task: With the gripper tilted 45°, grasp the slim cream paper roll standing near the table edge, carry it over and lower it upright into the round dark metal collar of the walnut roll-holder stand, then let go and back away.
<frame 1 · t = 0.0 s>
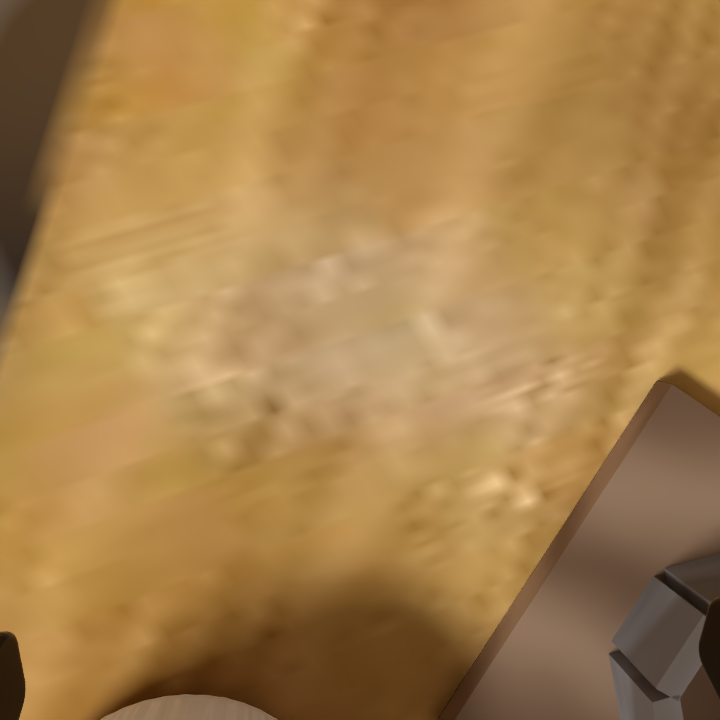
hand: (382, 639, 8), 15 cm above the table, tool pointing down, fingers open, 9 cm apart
roll holder stand: (700, 645, 26), on the table
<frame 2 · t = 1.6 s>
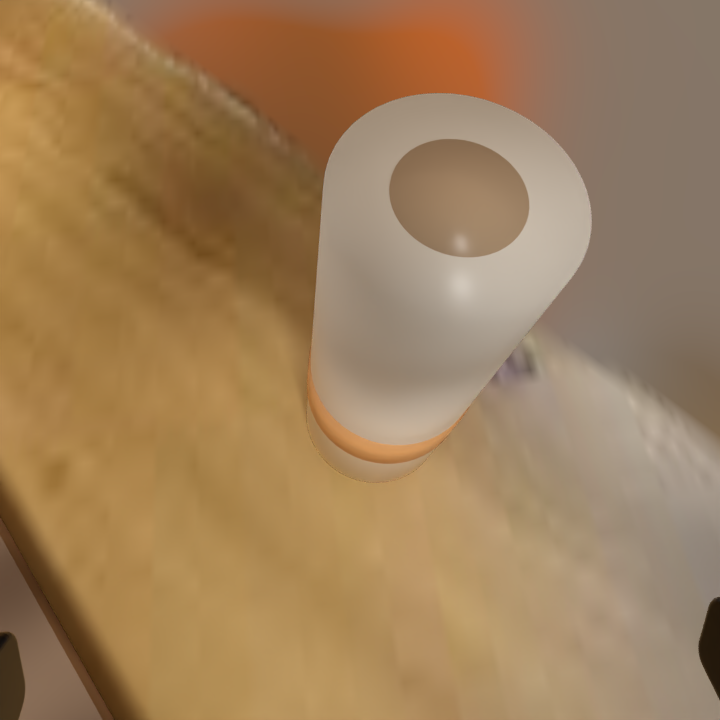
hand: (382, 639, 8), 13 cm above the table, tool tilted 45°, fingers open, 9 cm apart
paper roll: (374, 415, 24), on the table
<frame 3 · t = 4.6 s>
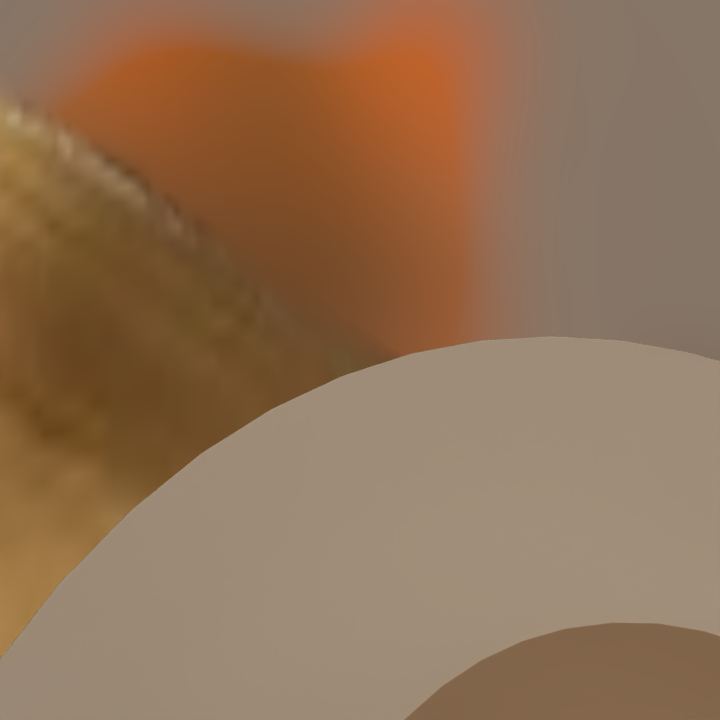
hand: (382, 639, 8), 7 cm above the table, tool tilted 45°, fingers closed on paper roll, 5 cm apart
paper roll: (346, 717, 14), on the table, touching gripper
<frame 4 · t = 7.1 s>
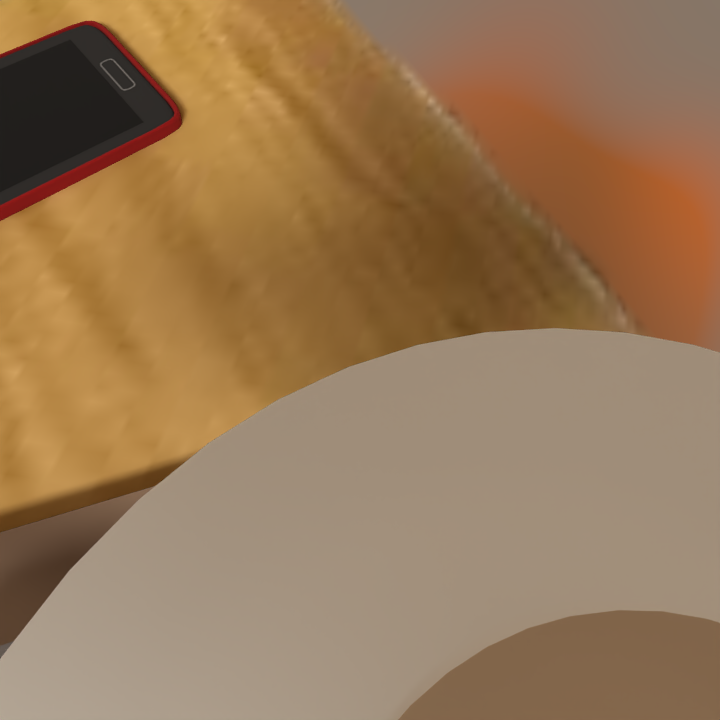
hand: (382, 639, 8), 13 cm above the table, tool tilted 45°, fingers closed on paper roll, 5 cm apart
paper roll: (347, 714, 14), point 7 cm above the table, touching gripper
when the fingers open (9 cm above the table, at t = 9.7 s): paper roll drops 1 cm, resting on roll holder stand.
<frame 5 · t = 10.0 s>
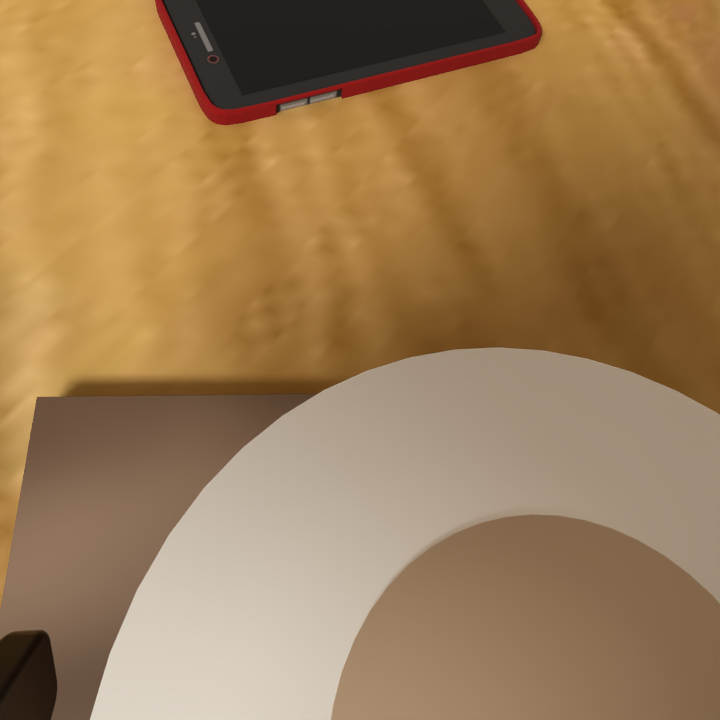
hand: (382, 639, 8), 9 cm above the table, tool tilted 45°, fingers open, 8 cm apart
paper roll: (341, 712, 15), point 1 cm above the table, touching roll holder stand
cell phone: (350, 33, 27), on the table
roll holder stand: (338, 708, 16), on the table
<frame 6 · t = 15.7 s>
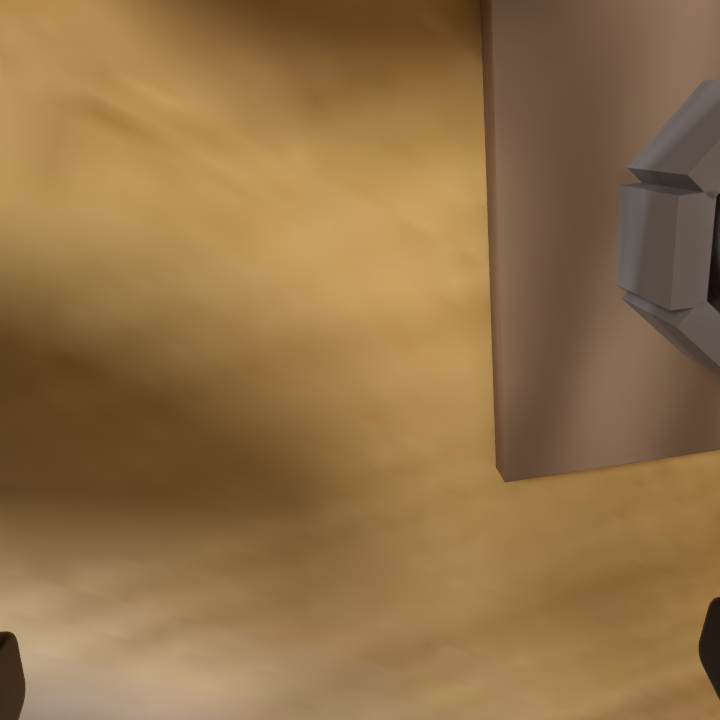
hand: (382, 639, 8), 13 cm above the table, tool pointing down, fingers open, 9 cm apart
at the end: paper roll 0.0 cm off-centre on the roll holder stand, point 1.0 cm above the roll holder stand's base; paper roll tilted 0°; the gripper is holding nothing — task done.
